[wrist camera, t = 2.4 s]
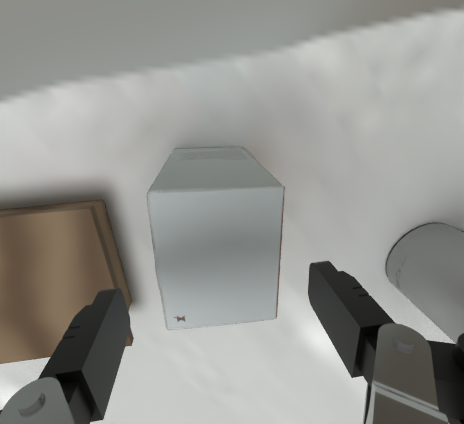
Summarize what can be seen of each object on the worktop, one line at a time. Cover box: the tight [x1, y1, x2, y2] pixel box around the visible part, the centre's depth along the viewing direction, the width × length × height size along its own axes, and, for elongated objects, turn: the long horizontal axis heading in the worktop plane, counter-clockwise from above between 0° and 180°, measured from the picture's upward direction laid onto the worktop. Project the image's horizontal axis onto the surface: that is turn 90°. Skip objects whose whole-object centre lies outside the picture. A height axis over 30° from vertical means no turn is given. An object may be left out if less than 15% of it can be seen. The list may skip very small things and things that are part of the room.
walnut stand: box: [0, 200, 134, 364], centre depth 24 cm, size 14×14×5 cm
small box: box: [147, 147, 285, 330], centre depth 19 cm, size 8×6×13 cm
